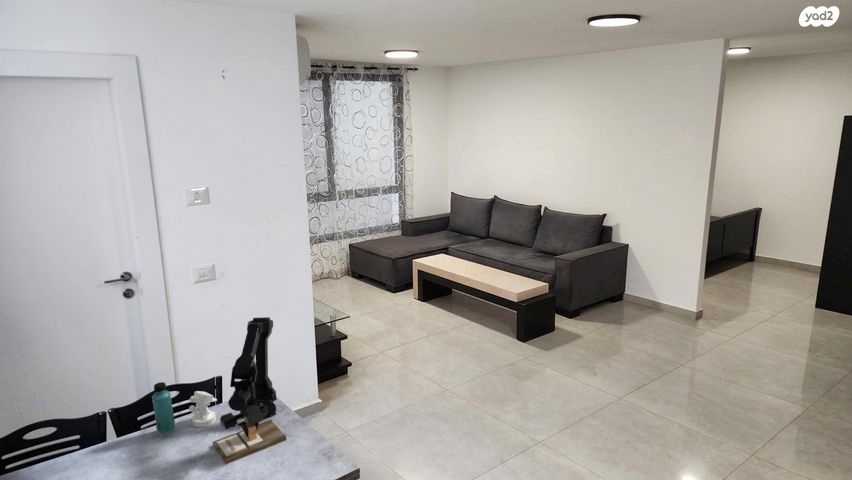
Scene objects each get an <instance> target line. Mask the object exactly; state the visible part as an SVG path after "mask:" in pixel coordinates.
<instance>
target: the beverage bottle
mask: <svg viewBox="0 0 852 480" xmlns="http://www.w3.org/2000/svg"><path fill="white" fill-rule="evenodd" d="M153 391H154V393H153V395H151V400H152V406H153V414H154V419H155V420H154V421H155V427H156V428H155V429H156V431H157V432H158V433H160V434H166V433H169V432H172V431H173V430H174V429H175V427H176V421H175V415H174V409H173V404H172V402H173V401H172V396H171V392H170V391H169V390H167V384H166V382H163V381H162V382H160V381H159V382H157V383H155V384H154V385H153Z"/></svg>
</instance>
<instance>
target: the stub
mask: <svg viewBox="0 0 852 480" xmlns="http://www.w3.org/2000/svg"><path fill="white" fill-rule="evenodd" d="M245 422H246V423H247V424H246V427H247V431H248V437H247V436H246V435H245V433H244V432H241V433H239V434H240V436H241V437H242V438H243V440H244V441H245V442H246V443H247V445H248V446H249V447H250V446H251V445H254V444H257V443H259V442H262V441H263V440H262V439H261V437H260V436H259V435H258V434H257V433H256V426H255V425H254V424H253V425H250V424H249V423H248V421H247V420H246V421H245Z"/></svg>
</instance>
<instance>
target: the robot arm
mask: <svg viewBox="0 0 852 480" xmlns="http://www.w3.org/2000/svg"><path fill="white" fill-rule="evenodd" d="M273 328H274V320H273V319H271V317H270V316H269V317H267V316H264V317H263V316H262V317H253V318H252V320H249V321H247V326H246V331H247V332H246V336H245V339H244V344H243V347H242V351H241V355H240V356H239V357H238V358H237V359H236V360H235V362H234V364H233V366H232V368H231V369H232V370H231V377H230V385H229V387H230V388H234V391H233V393H232V394H231V396H230V398H229V400H228V406H229V408H230V409H231V410H232V411H235V412H239V413H237V414H235V415H234V414H233V413H232V412H229V413H226V414H223V415H221V416H220V418H219V422H220V424H221V426H222V427H223V428H224V430H229V429H231V428H235V427H236V426H237V427H241V430H243V431H244V433H245V435H246V436H247V437H248V431H247V427H246V424H247V423H246V422H247V421H248V423H249V424H250V425H253V424H254V425H255V426H256V431H257V427H258V424H260V423H262V421H263V420H265V419H267V418H270V417H273V416H275V415H277V405H276V403H274V402H275V401H277V391H276V390H275V388H274V387H273V382H272V380H271V378H270V377H269V355H268V354H269V353H268V351H269V346H268V342H269V338H270V336H271V334H272V333H273Z"/></svg>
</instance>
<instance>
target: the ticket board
mask: <svg viewBox="0 0 852 480" xmlns="http://www.w3.org/2000/svg"><path fill="white" fill-rule="evenodd" d="M241 432H244V431H243V429H241V430H238V431H237V432H235V433H233V434H230V435H227V436H224V437H221V438H219V439H216V440H214V441H212V446H213V447H214V449H215V451H216V452H217V454H218V455H219V456H220V458H221V459H222V461H223V463H225V465H228V464H230V463H233V462H235V461H238V460H241V459H243V458H245V457H247V456H250V455H253V454H255V453H258V452H260V451H262V450H265V449H268V448H270V447H272V446H275V445H278V444H279V443H280V444H281V443H283V442H285V441H287V436H286V433H285V432H283V431H282V430H281V429H280V428H279V427H278V426H277V425H276V424H275V423H274V422H273V419H269V420H267V421H263V422H259V424H258V427H257V431H256V433H257V434H258V435H259V436H260V437H261V439H262V440H263V441H262V442H259V443H257V444H254V445H251V446H250V447H249V446H248V445H247V443H246V442H245V441H244V440H243V438H242V437H241V436H240V434H239V433H241Z"/></svg>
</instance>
